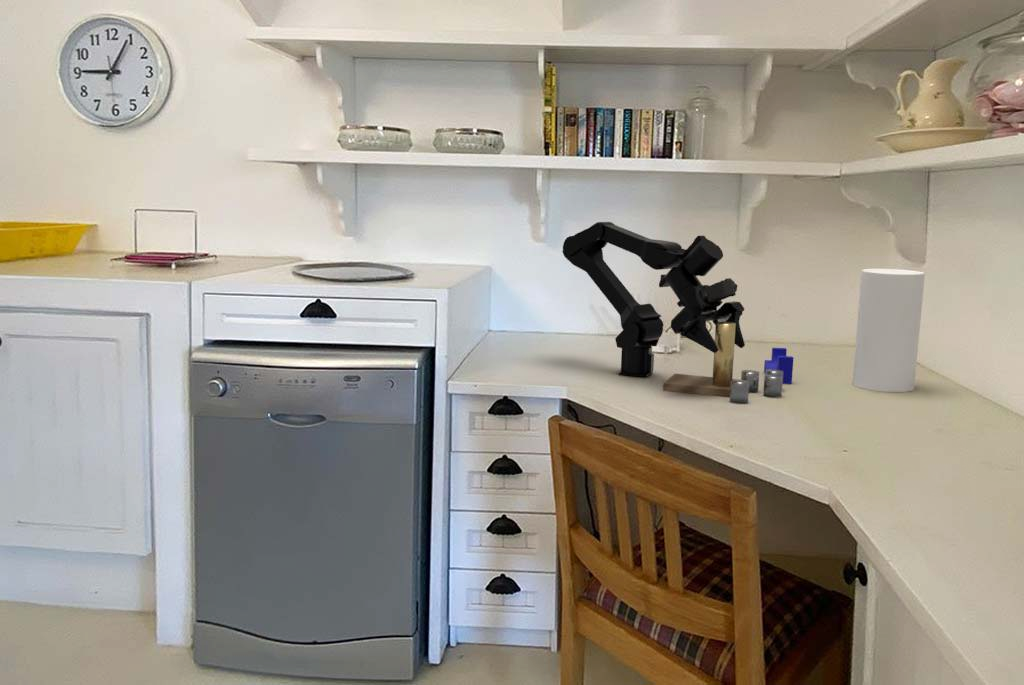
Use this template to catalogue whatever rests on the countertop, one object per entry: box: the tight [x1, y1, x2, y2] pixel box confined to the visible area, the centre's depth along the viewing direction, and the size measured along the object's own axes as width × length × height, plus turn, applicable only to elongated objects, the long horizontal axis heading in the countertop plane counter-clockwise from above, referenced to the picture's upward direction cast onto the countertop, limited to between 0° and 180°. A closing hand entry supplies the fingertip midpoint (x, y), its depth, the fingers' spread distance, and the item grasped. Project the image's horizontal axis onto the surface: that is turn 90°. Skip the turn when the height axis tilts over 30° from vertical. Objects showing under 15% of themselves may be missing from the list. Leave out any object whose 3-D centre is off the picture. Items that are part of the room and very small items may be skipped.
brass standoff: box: [712, 322, 736, 387], centre depth 190 cm, size 4×4×13 cm
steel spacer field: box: [729, 369, 783, 404], centre depth 189 cm, size 9×18×4 cm, turn 158°
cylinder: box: [852, 268, 926, 393], centre depth 198 cm, size 12×12×25 cm
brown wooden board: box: [662, 373, 739, 398], centre depth 194 cm, size 14×11×2 cm
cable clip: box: [763, 347, 794, 385], centre depth 206 cm, size 12×4×6 cm, turn 171°
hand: (730, 349), depth 189 cm, fingers open, 9 cm apart
